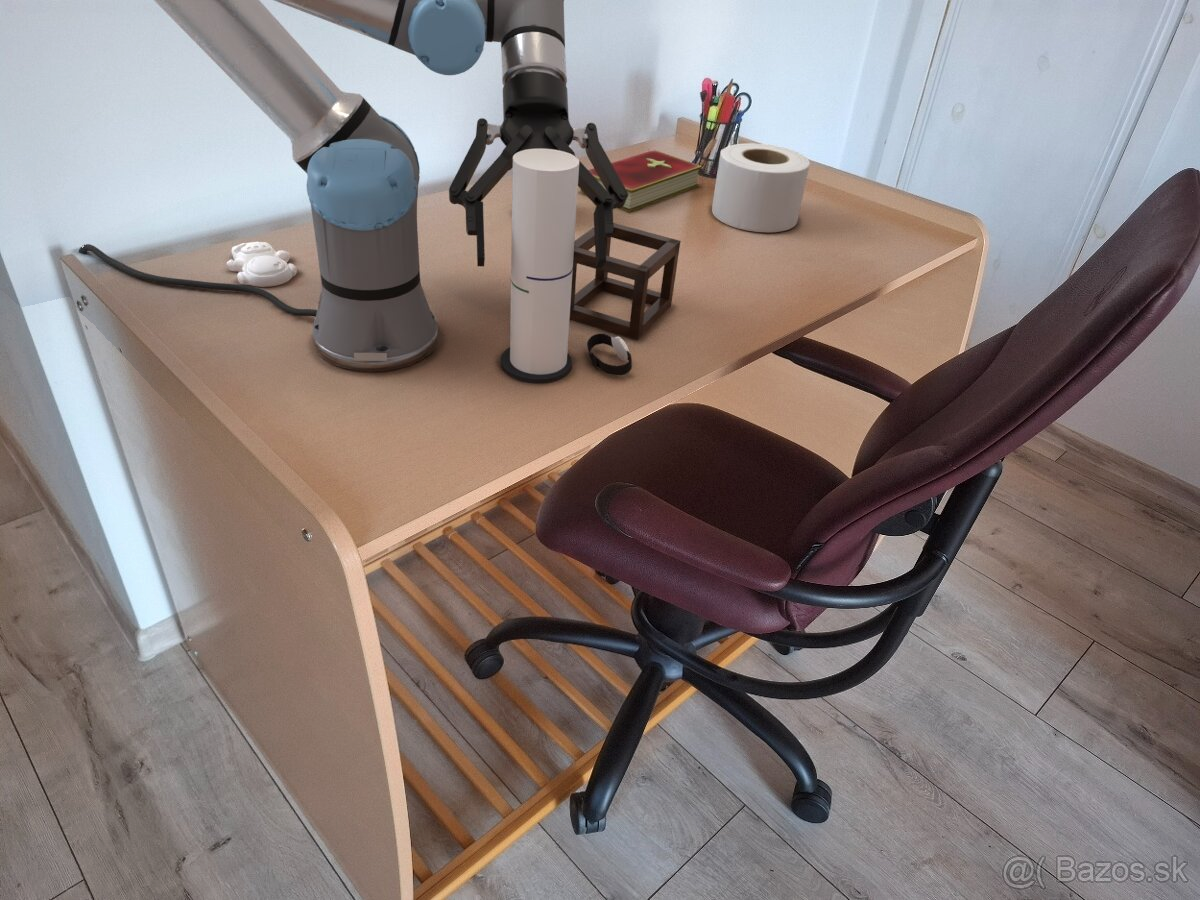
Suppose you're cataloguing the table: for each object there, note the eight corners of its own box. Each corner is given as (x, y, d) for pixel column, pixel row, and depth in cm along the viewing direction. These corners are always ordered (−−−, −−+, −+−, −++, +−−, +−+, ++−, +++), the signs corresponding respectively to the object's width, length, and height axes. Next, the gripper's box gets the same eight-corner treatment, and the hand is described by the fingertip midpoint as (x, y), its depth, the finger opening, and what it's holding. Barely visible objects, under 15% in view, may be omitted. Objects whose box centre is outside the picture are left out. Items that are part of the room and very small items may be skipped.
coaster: (486, 369, 103) (486, 364, 103) (523, 338, 110) (523, 334, 109) (549, 391, 100) (550, 387, 100) (584, 358, 107) (584, 354, 106)
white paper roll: (694, 213, 149) (703, 152, 143) (741, 193, 159) (752, 136, 153) (768, 241, 142) (781, 178, 135) (812, 218, 152) (827, 159, 145)
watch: (640, 374, 105) (643, 349, 103) (609, 383, 103) (612, 357, 100) (607, 345, 110) (609, 321, 108) (577, 353, 108) (578, 328, 105)
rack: (560, 316, 115) (563, 248, 109) (598, 284, 124) (603, 219, 118) (637, 340, 112) (645, 271, 105) (671, 306, 120) (680, 240, 114)
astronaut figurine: (285, 248, 125) (282, 229, 123) (301, 282, 117) (298, 262, 115) (222, 255, 122) (218, 236, 120) (235, 291, 113) (231, 271, 112)
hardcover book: (579, 192, 153) (581, 169, 151) (650, 169, 166) (652, 147, 164) (629, 212, 147) (631, 189, 145) (699, 186, 160) (702, 164, 158)
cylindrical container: (559, 378, 101) (570, 175, 86) (502, 368, 102) (504, 165, 87) (572, 350, 107) (585, 154, 92) (519, 340, 108) (523, 145, 93)
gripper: (633, 108, 102) (642, 274, 100) (426, 99, 98) (430, 273, 96) (646, 73, 95) (656, 252, 93) (423, 62, 91) (427, 249, 88)
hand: (541, 263), depth 94 cm, fingers open, 13 cm apart
